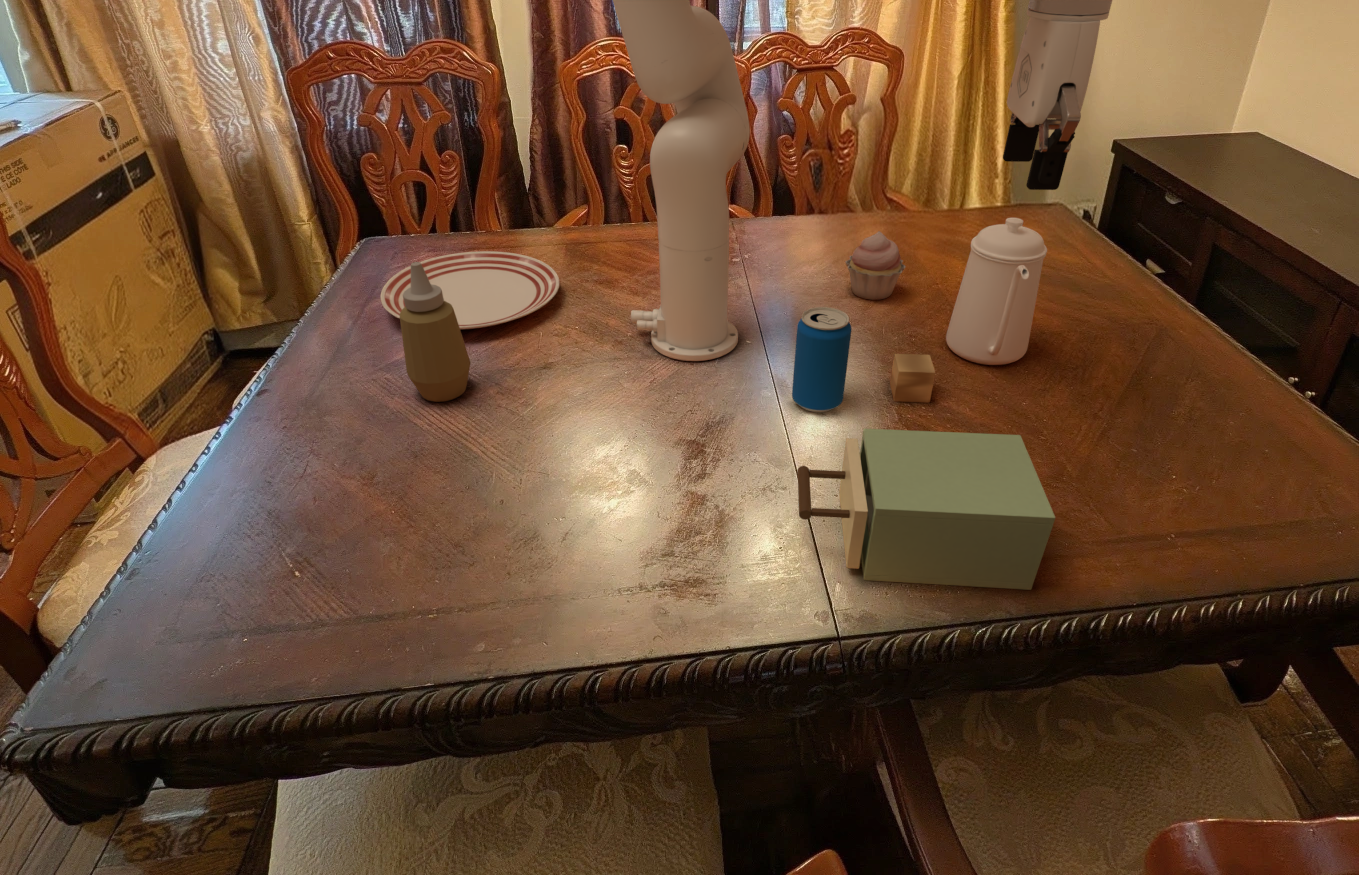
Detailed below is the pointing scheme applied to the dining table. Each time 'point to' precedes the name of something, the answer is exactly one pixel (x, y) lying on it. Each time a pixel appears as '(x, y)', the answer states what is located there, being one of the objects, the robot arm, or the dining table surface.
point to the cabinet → (953, 509)
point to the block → (912, 378)
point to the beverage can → (821, 359)
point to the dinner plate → (481, 286)
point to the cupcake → (875, 267)
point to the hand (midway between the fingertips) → (1028, 174)
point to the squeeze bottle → (432, 341)
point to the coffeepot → (997, 294)
